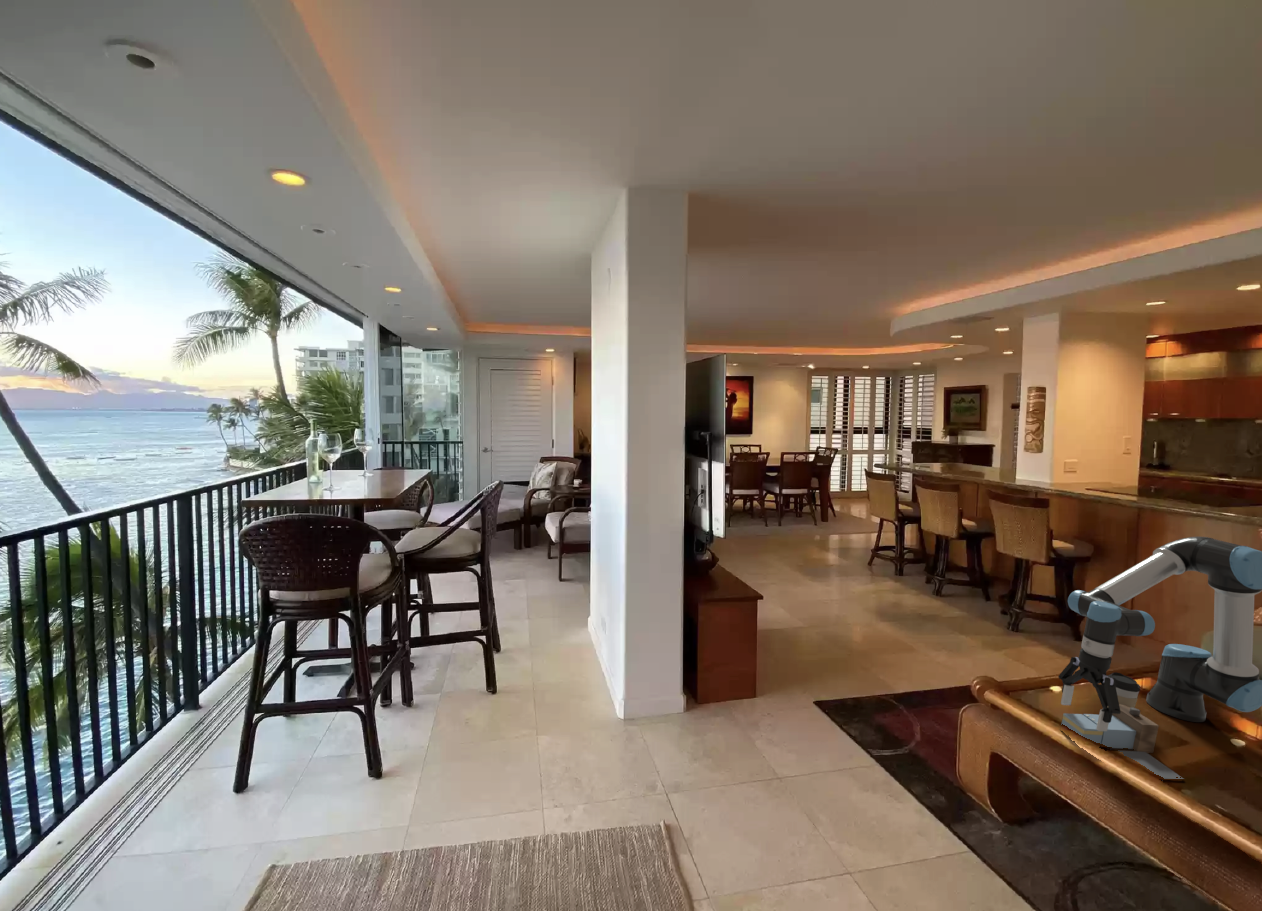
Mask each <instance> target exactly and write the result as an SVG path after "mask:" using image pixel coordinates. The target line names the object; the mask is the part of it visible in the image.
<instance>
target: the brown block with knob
mask: <svg viewBox="0 0 1262 911" xmlns="http://www.w3.org/2000/svg"><path fill="white" fill-rule="evenodd" d="M1119 706H1120V711H1121V713H1120V714H1114V713H1113V714H1112V715H1114V716H1115V717H1117V718H1118V719H1120V720H1121V721H1122V722H1124V723H1125V724H1127V725H1128V726H1130V727H1131V728H1133V729H1134V730H1136V735H1135V740H1134V745H1133V749H1134V750H1133V749H1132V750H1133V751H1140V752H1146V753H1148V754H1149V753H1150V754H1154V751H1155V745H1156V741H1157V735H1158V731H1159V727H1160V725H1159V724H1157V723H1156V722H1154V721H1153V720H1151V719H1149V718H1148V717H1146V716H1144V715H1143V714H1141V710H1140V709H1139V708H1136V707H1135V708H1132V707H1131V708H1130V707H1129V706H1127V705H1121V704H1119Z"/></svg>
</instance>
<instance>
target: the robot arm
mask: <svg viewBox="0 0 1262 911" xmlns="http://www.w3.org/2000/svg"><path fill="white" fill-rule="evenodd" d="M1185 572H1198V573H1200V574H1204V575H1207V584H1208V586H1209V587H1210V588H1211V589H1213V590H1214V597H1213V598H1214V604H1213V606H1214V607H1213V608H1214V609H1213V647H1212V648H1213V649H1212V650H1213V654H1212V652H1210V651H1208V650H1206V649H1204V648H1200V647H1197V646H1192V645H1188V644H1186V645H1185V644H1180V643H1179V644H1178V643H1169V644H1167V645H1165V646H1164V648H1163V651H1162V654H1161V660H1160V665H1159V670H1158V675H1157V680H1156V682H1155V684H1154V685H1153V686H1152V688H1151V689H1150V691H1148V692H1147V695H1146V698H1145V701H1146V703H1147V704H1148V705H1149V706H1151V707H1152V708H1153V709H1155V710H1157V711H1158V712H1160V713H1163V714H1165V715H1168V716H1170V717H1173V718H1176V719H1179V720H1183V721H1185V722H1186V721H1188V722H1193V723H1204V722H1205V721H1206V718H1207V710H1206V709H1205V701H1204V695H1206V696H1207V697H1209V698H1211V699H1214V700H1216V701H1218V702H1220V703H1221V704H1224V705H1226V706H1227V707H1230V708H1233V709H1235V710H1237V711H1240V712H1243V713H1251V712H1253V711H1256V710H1258V709H1260V708H1261V707H1262V679H1260V669H1259V668H1258V667H1257V666H1256V665H1255V664H1253V649H1254V648H1253V647H1254V620H1255V619H1254V618H1255V617H1254V616H1255V596H1256V595H1259V594H1260V593H1261V592H1262V550H1258V549H1255V548H1252V547H1250V546H1247V545H1241V544H1236V543H1232V542H1227V541H1224V540H1219V539H1216V538H1212V537H1209V536H1208V537H1207V536H1189V537H1188V536H1187V537H1184V538H1183V537H1182V538H1179V539H1176V540H1174V541H1170V542H1167V543H1166V544H1163V545H1161V546H1159V547H1157V548H1155V549H1154V550H1153V551H1152V555H1150V556H1149V557H1146V559H1143V560H1142V561H1140V562H1139V563H1136V564H1135V565H1133V566H1131V567H1130V568H1128V569H1126V570H1125V571H1123V572H1121V573H1119V574H1118V575H1116V576H1114V577H1112V578H1111V579H1109V580H1107V581H1106V582H1104V583H1102V584H1100V585H1099V586H1096V587H1095V588H1094V589H1091V590H1089V591H1085V590H1080V589H1077V590H1074V591H1072V592H1071V593H1070V594H1069V596H1068V597H1067V605H1068V608H1069V609H1070V610H1071V611H1074V612H1075V613H1077V614H1079V616H1082V617H1086V621H1085V625H1084V626H1085V627H1084V632H1083V636H1082V639H1081V640H1082V641H1081V645H1080V646H1081V648H1080V649H1079V655H1078V657H1077V656H1071V657H1070V660H1069V663H1068V664H1066V666H1065V667H1064V668H1063V670H1062V671H1061V672H1060V673H1059V674H1058V679H1059V680H1061V681H1062V682H1061V683H1062V687H1061V688H1062V689H1061V693H1062V695H1061V700H1060V704H1061V705H1062V706H1072V700H1073V695H1074V690H1075V683H1077V682H1078V681H1079V682H1080V681H1081V680H1083V679H1084V680H1086V681H1088V682H1089V683H1090V684H1092V687H1093V688H1094V689H1095V690H1096V694H1097V697H1098V698H1099V701H1100V705H1101V707H1102V708H1101V709H1100V710H1099V714H1098V715H1099V718H1098V723H1097V728H1096V730H1098V731H1107V729H1108V724H1109V723H1110V722H1111V718H1112V714H1113V713H1114V714H1120V713H1121V711H1120V706H1119V701H1118V696H1117V691H1116V679H1115V678H1110V677H1108V676H1107V672H1108V670H1109V669H1110V668H1111V664H1112V660H1113V659H1112V657H1113V654H1114V650H1115V645H1116V644H1115V643H1116V640H1117V636H1128V637H1130V636H1131V637H1132V636H1133V637H1134V636H1135V637H1143V636H1148V635H1151V634H1153V633H1154V630H1155V629H1156V628H1155V627H1156V622H1155V619H1154V617H1153V616H1151V614H1149V613H1148V612H1146V611H1143V610H1138V609H1129V608H1126V607H1124V606H1122V604H1124V603H1126V602H1128V601H1129V600H1132V599H1133V598H1134V597H1136V596H1138V595H1140V594H1141V593H1143V592H1145V591H1146V590H1149V589H1150V588H1152V587H1154V586H1156V585H1157V584H1159V583H1161V582H1163V581H1164V580H1166V579H1167V578H1169V577H1172V576H1174V575H1176V576H1177V575H1182V574H1184V573H1185ZM1078 668H1079V669H1078ZM1107 706H1108V708H1107Z"/></svg>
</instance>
